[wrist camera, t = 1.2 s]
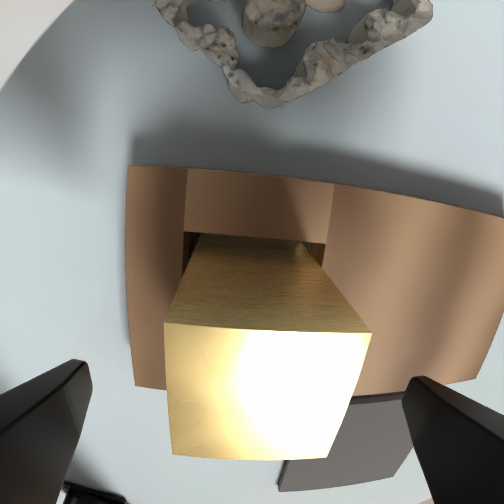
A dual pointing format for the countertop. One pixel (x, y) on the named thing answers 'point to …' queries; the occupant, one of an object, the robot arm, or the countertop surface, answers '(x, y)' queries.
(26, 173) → the countertop surface
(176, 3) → the egg carton
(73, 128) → the countertop surface
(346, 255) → the walnut board
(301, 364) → the brass plug
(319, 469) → the rubber mat
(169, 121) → the countertop surface
